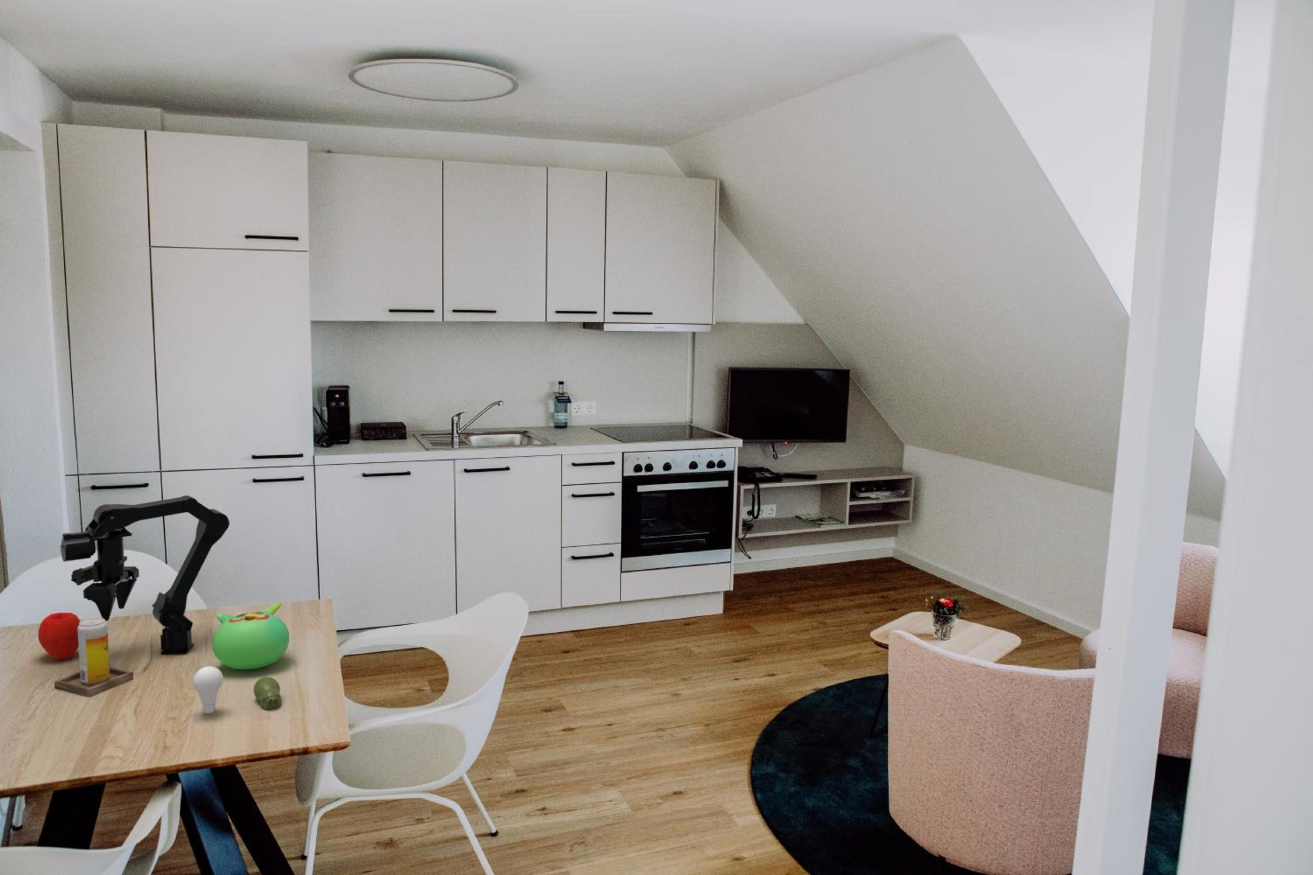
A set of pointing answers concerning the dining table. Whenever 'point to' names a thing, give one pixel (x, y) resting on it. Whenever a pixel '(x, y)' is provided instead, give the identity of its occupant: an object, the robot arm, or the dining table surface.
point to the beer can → (93, 651)
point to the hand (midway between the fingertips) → (113, 614)
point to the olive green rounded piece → (268, 692)
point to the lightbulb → (208, 687)
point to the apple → (59, 635)
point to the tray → (78, 687)
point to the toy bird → (251, 639)
